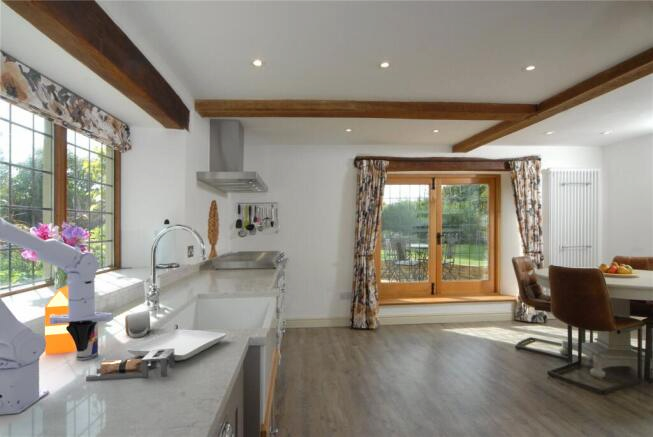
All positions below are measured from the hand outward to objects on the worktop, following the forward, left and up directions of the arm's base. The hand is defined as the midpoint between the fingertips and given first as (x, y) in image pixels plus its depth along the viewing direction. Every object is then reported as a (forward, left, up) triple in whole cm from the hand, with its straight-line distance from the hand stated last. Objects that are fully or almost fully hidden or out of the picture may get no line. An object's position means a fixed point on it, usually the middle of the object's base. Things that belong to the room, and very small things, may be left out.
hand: (82, 350), depth 91 cm
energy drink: (+14, +7, -7) cm, 17 cm away
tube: (0, -10, -7) cm, 12 cm away
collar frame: (0, -12, -7) cm, 14 cm away
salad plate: (+16, -19, -7) cm, 27 cm away
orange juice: (+24, +19, -7) cm, 31 cm away
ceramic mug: (+37, +1, -7) cm, 37 cm away
